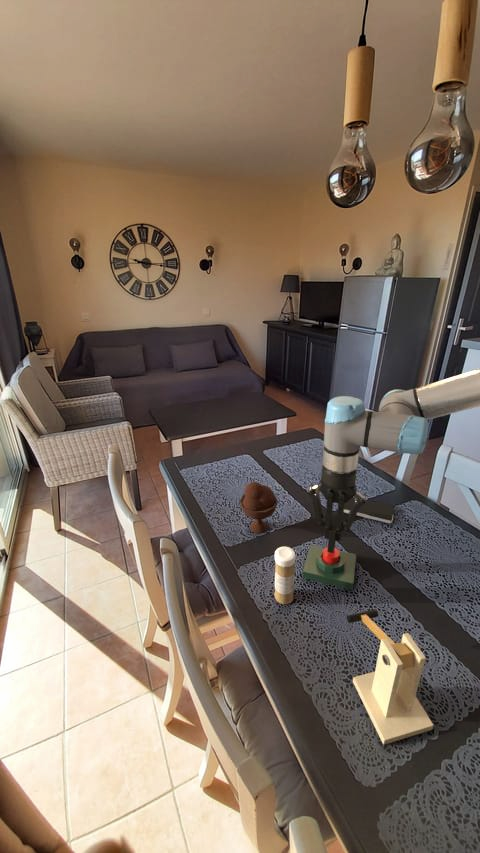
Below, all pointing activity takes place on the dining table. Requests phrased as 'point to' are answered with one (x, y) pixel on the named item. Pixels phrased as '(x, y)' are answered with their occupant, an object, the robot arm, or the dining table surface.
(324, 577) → the off panel
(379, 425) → the robot arm
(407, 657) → the lever
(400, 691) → the wooden lever stand
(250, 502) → the ice cream bowl
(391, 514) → the smartphone
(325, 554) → the button
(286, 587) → the sprinkles bottle
